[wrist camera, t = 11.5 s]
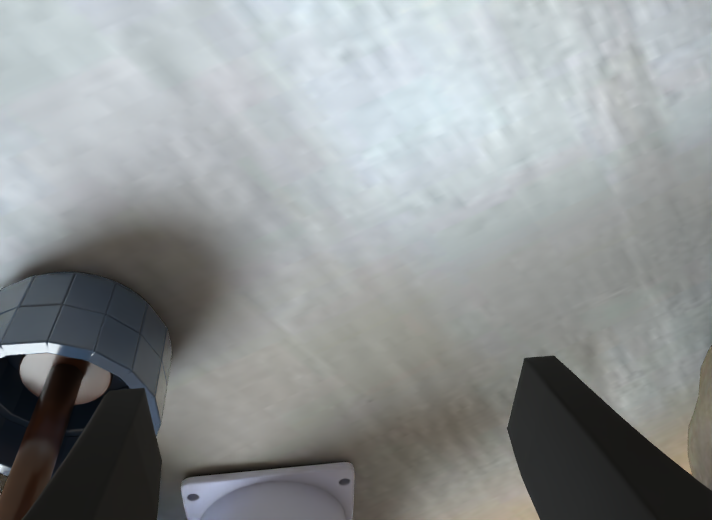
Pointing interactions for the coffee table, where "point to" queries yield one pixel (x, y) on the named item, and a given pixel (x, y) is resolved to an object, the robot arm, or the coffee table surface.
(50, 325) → the stir bowl
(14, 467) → the wooden stamp
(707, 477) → the bowl
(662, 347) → the coffee table surface
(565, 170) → the coffee table surface
